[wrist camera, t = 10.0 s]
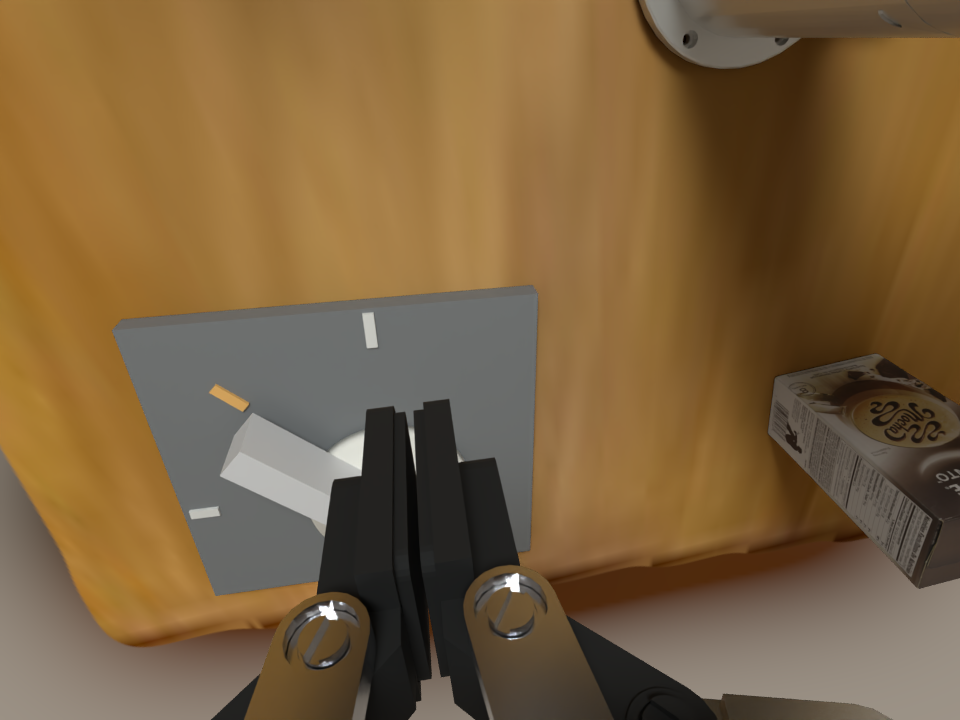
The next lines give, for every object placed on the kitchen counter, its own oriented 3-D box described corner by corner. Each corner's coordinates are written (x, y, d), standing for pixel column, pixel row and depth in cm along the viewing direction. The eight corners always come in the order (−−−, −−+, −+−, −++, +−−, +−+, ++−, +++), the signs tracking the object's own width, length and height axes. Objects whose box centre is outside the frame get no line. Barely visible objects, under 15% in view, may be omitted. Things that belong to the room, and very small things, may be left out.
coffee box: (878, 349, 46) (1095, 483, 32) (864, 412, 49) (1055, 559, 35) (772, 374, 45) (946, 522, 32) (765, 436, 49) (919, 594, 35)
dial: (501, 473, 44) (515, 522, 39) (404, 565, 47) (408, 620, 43) (298, 350, 36) (287, 394, 31) (199, 471, 39) (177, 527, 35)
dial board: (532, 285, 38) (539, 295, 37) (526, 537, 50) (530, 552, 49) (121, 319, 35) (110, 332, 33) (220, 580, 47) (214, 598, 45)
